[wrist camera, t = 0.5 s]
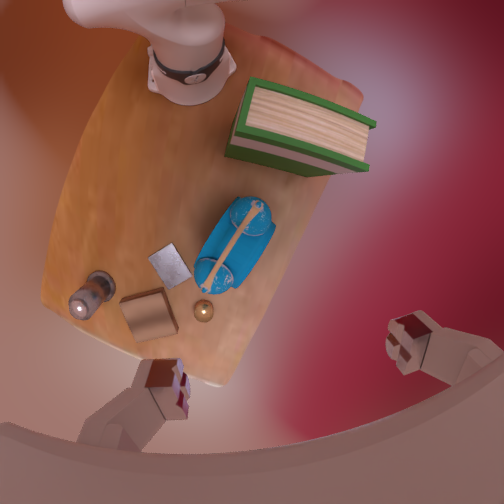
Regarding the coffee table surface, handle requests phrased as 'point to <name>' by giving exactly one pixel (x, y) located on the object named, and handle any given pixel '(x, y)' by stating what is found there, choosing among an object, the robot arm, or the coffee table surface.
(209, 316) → the brass knob
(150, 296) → the stand
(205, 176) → the coffee table surface
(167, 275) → the steel plate
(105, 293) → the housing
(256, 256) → the alarm clock
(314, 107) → the hardback book
